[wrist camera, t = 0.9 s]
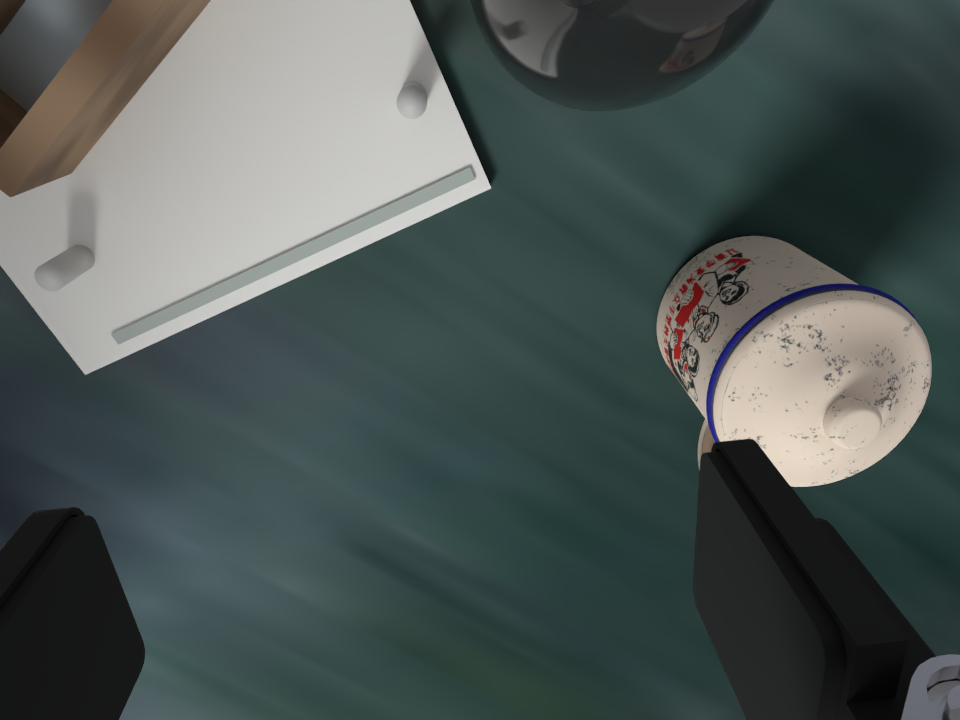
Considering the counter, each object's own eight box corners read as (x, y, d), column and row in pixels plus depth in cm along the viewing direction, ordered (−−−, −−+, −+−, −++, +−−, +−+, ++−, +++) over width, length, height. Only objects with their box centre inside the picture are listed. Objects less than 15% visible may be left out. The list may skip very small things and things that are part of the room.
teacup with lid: (692, 206, 34) (808, 285, 24) (856, 256, 36) (1033, 350, 25) (604, 417, 39) (668, 562, 28) (752, 453, 40) (866, 602, 30)
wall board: (90, 369, 36) (56, 403, 33) (-211, -22, 28) (-296, -30, 25) (490, 185, 33) (496, 202, 30) (278, -303, 25) (256, -351, 22)
